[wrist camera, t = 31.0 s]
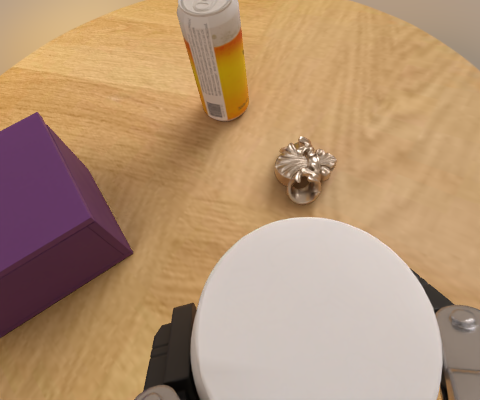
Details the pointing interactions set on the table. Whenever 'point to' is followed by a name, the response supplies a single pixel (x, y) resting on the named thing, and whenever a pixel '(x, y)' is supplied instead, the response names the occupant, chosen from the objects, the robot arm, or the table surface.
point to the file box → (64, 256)
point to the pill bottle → (314, 319)
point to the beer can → (216, 55)
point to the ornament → (303, 169)
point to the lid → (35, 194)
